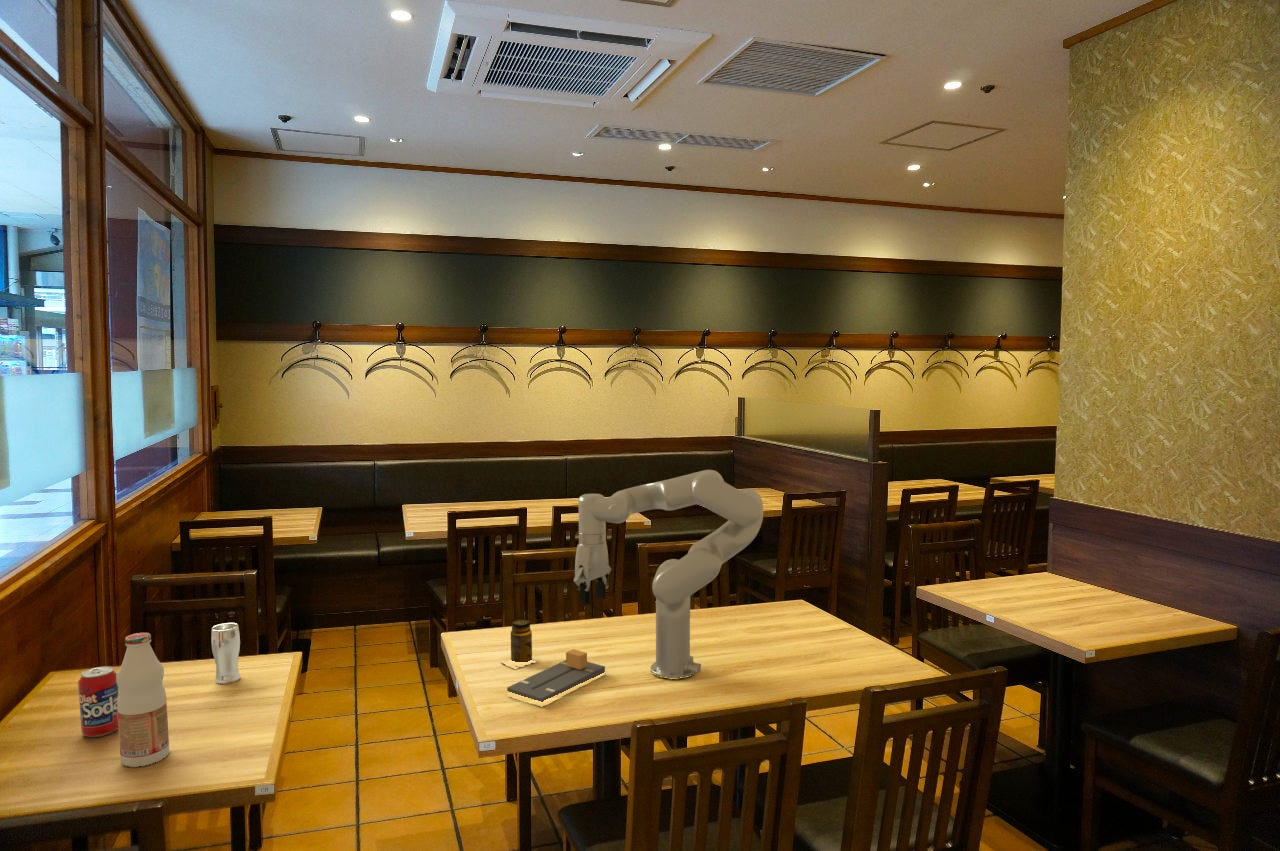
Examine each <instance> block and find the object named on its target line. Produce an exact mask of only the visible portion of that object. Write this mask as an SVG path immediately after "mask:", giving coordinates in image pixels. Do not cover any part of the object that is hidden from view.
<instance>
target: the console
mask: <svg viewBox="0 0 1280 851" xmlns="http://www.w3.org/2000/svg"><path fill="white" fill-rule="evenodd" d="M605 667H606V666H605V665H601V664H598V663H594V662H590V661H587V667H585V668H582V669H576V668H573V667H569V666H566V659H565V660H563V661H559V663H556V664H554V665H552V666H550V667H547V668H545V669H544V670H541V671H539V672H537V673H536V674H533V675H531V676H528V677H526V678H525V679H521V680H519V681H518V682H516V683H514V684H512V685H509V686H508V687H507V688H506V689H507V691H509V692H512V693H515V694H518V695H521V696H524V697H528V698H531V699H534V700H538V701H541V702H543V701H544V700H546V699H548V698H551V697H553V696H555V695H558V694H559V693H562V692H564V691H566V690H568V689H570V688H572V687H574V686H576V685H578V684H580V683H583V682H585V681H587V680H589V679H591V678H594V677H596V676H598V675H600V674H602V673H604V672H605V673H606V668H605Z"/></svg>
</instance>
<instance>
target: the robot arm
mask: <svg viewBox="0 0 1280 851" xmlns="http://www.w3.org/2000/svg"><path fill="white" fill-rule="evenodd" d="M763 503H764V502H763V500H762V497H761V495H760V494H759V493H758V492H757V491H756V490H754V489H751V488H742V489H738V488H735V486H732V485H731V484H729V483H727V482H725V481H724V478H723V477H722V475H721V473H719V472H718V471H716V470H715V469H714V470H713V469H705V470H704V469H703V470H700V471H697V472H692V473H689V474H685V475H681V476H677V477H673V478H669V479H664V480H661V481H655V482H651V483H646V484H641V485H636V486H633V487H629V488H628V487H627V488H625V489H622V490H618V491H616V492H615V493H613V494H612V495H611V496H607V497H605V495H602V494H601V493H585V494H582V495H580V496H579V498H578V544H577V546H576V551H575V559H574V560H575V561H574V562H575V563H574V578H573V583H574V584H575V585H576V586H577V587H578V590H579V591H580V592H579V595H580V596H579V600H580V601H579V602H580V604H581V605H586V606H589V605H591V590H590V587H591V586H590V585H591V581H594V580H595V581H596V583H595V598H598V599H603V600H604V599H606V595H607V593H606V590H607V589H606V586H607V584H608V581H607V580H608V578H609V575H610V573H611V571H612V568H611V566H610V564H609V553H608V545H607V532H606V531H607V528H606V525H607V524H606V522H607V523H611V524H621V523H624V522H626V521H627V520H629V518H630V516H631V515H634V514H638V513H641V512H645V511H651V510H664V511H676V510H679V509H683V508H687V507H691V506H695V505H700V506H702V507H704V508H706V509H708V510H709V511H711V512H712V513H714V514H717V515H719V516H720V517H722V518H724V519H726V520H727V521H726V522H724V523H723V524H722V525H721V526H720V527H718V528H717V529H716V530H714V531H713V532H710V533H709V534H708V535H706V536H705V537H703V538H701V539H700V540H698V541H696V542H694V544H692V545H691V546H690V548H689V550H688V552H687V554H685V555H684V556H682V557H681V558H679V559H676V558H671V559H668V560H665V561H664V562H662V563H661V564H660V565H659V567H658V568H657V570H656V573H655V575H654V577H653V580H652V584H651V588H652V593H653V595H654V597H655V662H653V663H652V664H651V665H650V669H651V671H650V673H651V672H652V673H654V674H656V675H658V676H662V677H667V678H680V677H686V676H690V675H692V674H693V673H694V674H698V675H699V674H700V673H701V667H702V664H701V663H698V662H695V661H694V656H693V655H691V596H692V595H693V594H695V593H696V592H698V591H699V590H700V589H702V588H704V587H706V586H707V585H708V584H709V583H711V582H712V581H713V580H714V579H715V578H716V577H717V576H718V575H719V573H720V570H721V568H722V565H723V564H725V563H726V562H728V561H729V560H730V559H731V558H733V557H735V555H737V554H739V553H740V552H741V551H743V550H744V549H745V548H747V546H749V545H750V544H751V543H752V542H753V541H754V539H755V538H756V537H757V535H758V533H759V532H760V529H761V527H762V523H763V519H764V504H763ZM650 669H649V670H650ZM652 673H651V674H652ZM694 674H693V675H694ZM693 675H692V676H693ZM690 677H691V676H690Z"/></svg>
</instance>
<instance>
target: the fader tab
mask: <svg viewBox="0 0 1280 851" xmlns="http://www.w3.org/2000/svg"><path fill="white" fill-rule="evenodd" d="M565 660H566V666H569V667H573V668H576V669H582V668H585V667H587V662H588V652H585V651H581V650H578V649H574V648H573V649H570V650H568V651H566V652H565Z"/></svg>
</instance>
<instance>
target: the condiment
mask: <svg viewBox="0 0 1280 851" xmlns="http://www.w3.org/2000/svg"><path fill="white" fill-rule="evenodd" d="M532 633H533V632H532V630H531V622H530V621H529V620H528V619H516V620H513V621H512V623H511V631H510V659H511V660H512V661H515V662H528V661H530V660H532V659H533V644H532V643H533V641H532V640H533V639H532V638H533V634H532Z"/></svg>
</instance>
